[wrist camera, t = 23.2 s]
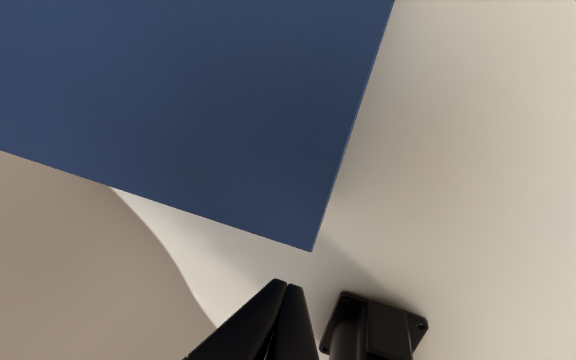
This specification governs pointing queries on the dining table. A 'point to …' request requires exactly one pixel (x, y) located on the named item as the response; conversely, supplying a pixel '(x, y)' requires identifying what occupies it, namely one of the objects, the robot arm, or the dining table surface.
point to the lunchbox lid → (193, 100)
